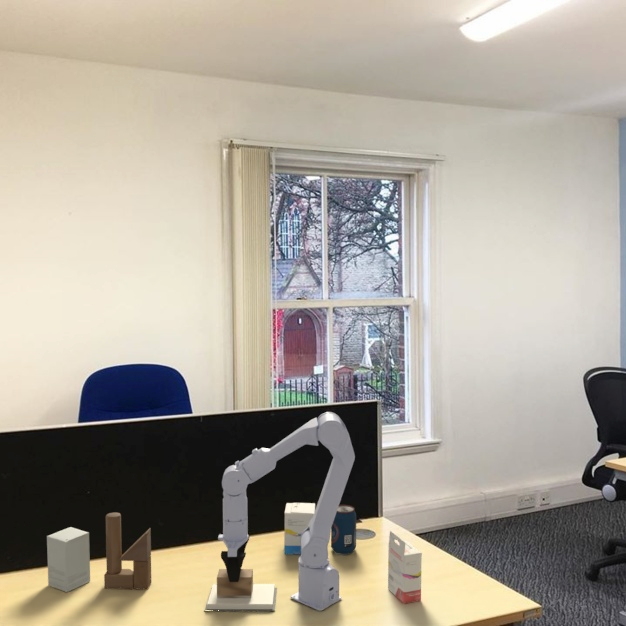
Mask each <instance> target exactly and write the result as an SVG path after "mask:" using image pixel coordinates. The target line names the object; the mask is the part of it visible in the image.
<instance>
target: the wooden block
mask: <svg viewBox="0 0 626 626" xmlns="http://www.w3.org/2000/svg"><path fill="white" fill-rule="evenodd" d="M151 532H152V531H151V527H149V528H148V529H147V530H146V531H145V532H144V533H143V534H142V535H141V536H140V537H139V538H138V539H137V540H136V541H135V542H134V543H133V544H132V545H131V546H129V548H127V550H126V551H125V552H124V553H122V514H121V513H120V512H116V511H115V512H109V513H107V514H106V515H105V550H106V552H105V554H106V572H105V573H104V575H103V577H104V578H103V579H104V581H103V583H104V589H121V590H123V589H125V590H127V589H128V590H133V589H134V590H148V589H149V588H150V586H151V584H152V545H151V544H152V538H151V537H152V536H151V535H152V533H151ZM123 561H125V562H126V561H127V562H132V563H133V564H132V565H133V568H132V569H133V570H132V569H130V568H123V566H122V565H123V563H122V562H123Z"/></svg>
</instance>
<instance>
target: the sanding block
mask: <svg viewBox="0 0 626 626" xmlns="http://www.w3.org/2000/svg"><path fill="white" fill-rule="evenodd" d="M216 584H217V598H251V597H252V591H253V584H254V569H253V568H241V571H240V578H239V581H238V582H230V581H229V578H228V574H227V569H226V568H219V569H218V573H217V575H216Z"/></svg>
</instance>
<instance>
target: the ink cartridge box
mask: <svg viewBox="0 0 626 626" xmlns="http://www.w3.org/2000/svg"><path fill="white" fill-rule="evenodd" d="M388 537H389V539H388V562H387V563H388V565H387V566H388V568H387V570H388V571H387V589H388V590H389V591H390V592H391V593H392V594H393V595H394V596H395V597H396V598H397V599H398V600H400V602H402V604H411V603H414V602H421V601H422V554H423V553H422V552H421V551H420V550H419V549H418V548H417V547H414V545H412V544H411V543H410V542H409V541H408V540H406V539H401V538H400V536H398V535H397V534H395V533H394V532H393V531H392V530H390V531H389V536H388Z"/></svg>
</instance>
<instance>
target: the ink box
mask: <svg viewBox="0 0 626 626" xmlns="http://www.w3.org/2000/svg"><path fill="white" fill-rule="evenodd" d="M315 510H316V503H315V502H312V503H311V502H286V504H285V509H284V535H283V537H284V540H283V541H284V542H283V543H284V549H283V553H284V555H301V544H300V536H301V534H302V532H303V531H304V530H305V529H306V528H307V527H308V525H309V522H310V520H311V519H312V518H313V515H314V513H315Z"/></svg>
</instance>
